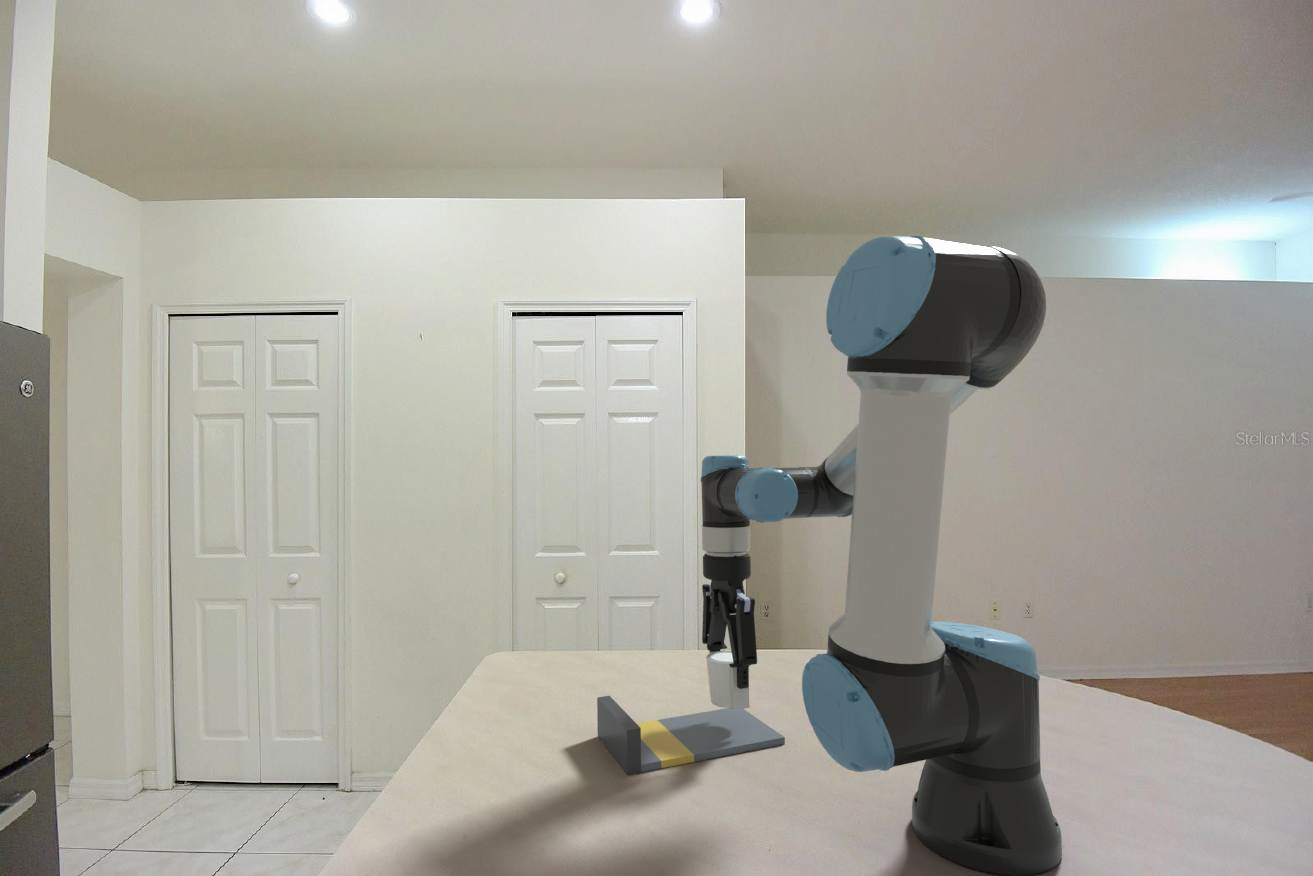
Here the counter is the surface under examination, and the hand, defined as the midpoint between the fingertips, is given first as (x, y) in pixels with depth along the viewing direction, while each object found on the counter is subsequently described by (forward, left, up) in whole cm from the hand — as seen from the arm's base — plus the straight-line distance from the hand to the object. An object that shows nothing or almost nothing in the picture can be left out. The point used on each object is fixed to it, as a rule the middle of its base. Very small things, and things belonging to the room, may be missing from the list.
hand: (728, 699), depth 106 cm
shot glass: (0, 0, 0) cm, 0 cm away
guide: (0, +7, -5) cm, 9 cm away
